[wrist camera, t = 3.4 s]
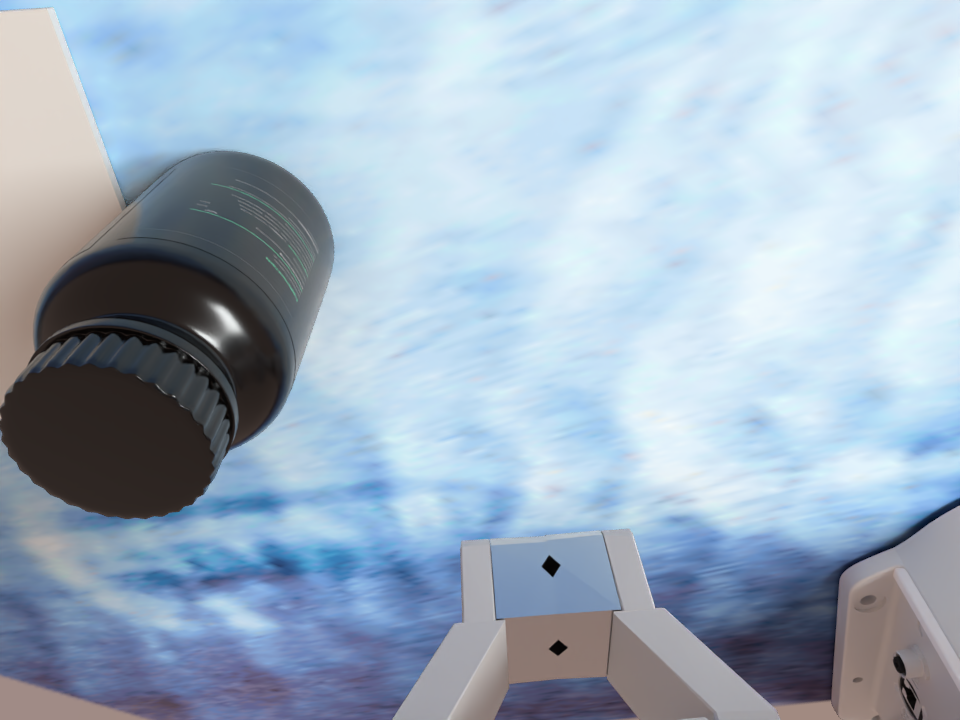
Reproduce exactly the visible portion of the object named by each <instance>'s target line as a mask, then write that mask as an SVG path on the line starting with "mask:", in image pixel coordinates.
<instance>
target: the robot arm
mask: <svg viewBox="0 0 960 720" xmlns="http://www.w3.org/2000/svg"><path fill="white" fill-rule="evenodd" d="M490 545H491V551H490ZM460 556H461V591H462V623H455V624H453V626H452V627H451V629H450V631H449V632H448V634H447V635H446V637H445V638H444V640H443V641H442V643H441V645H440V646H439V648H438V649H437V651H436V652H435V654H434V655H433V657H432V658H431V660H430V662H429V663H428V665H427V666H426V668H425V669H424V671H423V672H422V674H421V676H420V677H419V679H418V680H417V682H416V683H415V685H414V686H413V688H412V690H411V691H410V693H409V694H408V696H407V697H406V699H405V700H404V702H403V703H402V705H401V707H400V708H399V710H398V711H397V713H396V714H395V716H394V717H393V719H392V720H494V719H495V717H496V715H497V712H498V710H499V708H500V706H501V704H502V702H503V699H504V697H505V695H506V693H507V691H508V689H509V684H514V683H523V682H533V681H543V680H552V679H568V678H589V677H607V680H608V681H609V682H610V683H611V685H612V686H613V687H614V688H615V690H616V691H617V692H618V693H619V695H620V696H621V697H622V698H623V700H624V701H625V702H626V703H627V705H628V706H629V707H630V708H631V710H632V711H633V712H634V713H635V715H636V716H637V717H638V718H639V720H780V717H779V715H778V712H777V710H776V709H775V708H774V707H773V706H772V705H770V704H769V703H768V702H767V701H766V700H765V699H764V698H763V697H762V696H761V695H759V694H758V693H757V692H756V691H755V690H754V689H753V688H752V687H751V686H750V685H748V684H747V683H746V682H745V681H744V680H743V679H742V678H741V677H740V676H739V675H737V674H736V673H735V672H734V671H733V670H732V669H731V668H730V667H729V666H727V665H726V664H725V663H724V662H723V661H722V660H721V659H720V658H719V657H718V656H716V655H715V654H714V653H713V652H712V651H711V650H710V649H709V648H708V647H707V646H705V645H704V644H703V643H702V642H701V641H700V640H699V639H698V638H697V637H696V636H694V635H693V634H692V633H691V632H690V631H689V630H688V629H687V628H686V627H685V626H683V625H682V624H681V623H680V622H679V621H678V620H677V619H676V618H675V617H674V616H672V615H671V614H670V613H669V612H668V611H667V610H666V609H665V608H655V605H654V602H653V598H652V595H651V592H650V589H649V585H648V582H647V579H646V575H645V572H644V569H643V565H642V562H641V559H640V556H639V552H638V549H637V546H636V542H635V539H634V536H633V533H632V532H631V531H630V529H619V530H606V531H601V532H600V531H587V532H576V533H564V534H553V535H545V536H538V537H517V538H497V539H490V541H489V539H481V540H465V541H461V548H460ZM491 561H492V564H491ZM492 575H493V576H492ZM831 703H832V706H833V708H834V709H835V711H836V713H837V715H838V716H839V718H840V719H842V720H960V506H958V507H956V508H954V509H952V510H950V511H948V512H947V513H945V514H943V515H942V516H940V517H938V518H937V519H935V520H934V521H932V522H931V523H929V524H928V525H926V526H925V527H924V528H922V529H921V530H920V531H918V532H917V533H915V534H914V535H913V536H911V537H910V538H909V539H907V540H906V541H904V542H903V543H901V544H899V545H898V546H896V547H894V548H892V549H889V550H887V551H884V552H882V553H879V554H877V555H874V556H872V557H869V558H867V559H865V560H863V561H861V562H859V563H857V564H855V565H853V566H851V567H850V568H848V569H847V570H846V571H845V572H844V573H843V574H842V575H841V577H840V581H839V594H838V609H837V623H836V638H835V652H834V667H833V681H832V697H831Z"/></svg>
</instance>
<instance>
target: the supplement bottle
mask: <svg viewBox="0 0 960 720" xmlns="http://www.w3.org/2000/svg"><path fill="white" fill-rule="evenodd" d="M333 261H334V242H333V235H332V231H331V228H330V225H329V222H328V219H327V217H326V215H325V213H324V211H323V209H322V207H321V205H320V204H319V202H318V201H317V199H316V198H315V196H314V195H313V194H312V193H311V191H310V190H309V189H308V188H307V187H306V186H305V185H304V184H303V183H302V182H301V181H300V180H299V179H297V178H296V177H295V176H294V175H292V174H291V173H290V172H288V171H287V170H285V169H284V168H282V167H280V166H279V165H277V164H275V163H273V162H271V161H268V160H266V159H264V158H261V157H258V156H255V155H251V154H247V153H241V152H233V151H215V152H208V153H203V154H199V155H196V156H193V157H190V158H188V159H186V160H184V161H182V162H180V163H178V164H177V165H175V166H174V167H172V168H171V169H169V170H168V171H167V172H166V173H165V174H164V175H162V176H161V177H160V178H159V179H157V180H156V181H155V182H154V183H153V184H152V185H151V186H150V187H148V188H147V189H146V190H145V191H144V192H143V193H142V194H141V195H140V196H139V197H137V198H136V199H135V200H134V201H133V202H132V203H131V204H130V205H129V206H128V207H126V208H125V209H124V210H123V211H122V212H121V213H120V214H119V215H118V216H117V217H115V218H114V219H113V220H112V221H111V222H110V223H109V224H108V225H107V226H106V227H104V228H103V229H102V230H101V231H100V232H99V233H98V234H97V235H96V236H95V237H93V238H92V239H91V240H90V241H89V242H88V243H87V244H86V245H85V246H84V247H82V248H81V249H80V250H79V251H78V252H77V253H76V254H75V255H74V256H73V257H71V258H70V259H69V260H68V261H67V262H66V263H65V264H64V265H63V266H62V267H61V268H60V269H59V270H58V271H57V273H56V274H55V275H54V276H53V277H52V278H51V279H50V281H49V282H48V283H47V285H46V286H45V288H44V289H43V292H42V294H41V296H40V298H39V300H38V303H37V306H36V309H35V314H34V320H33V344H34V351H35V353H34V354H33V355H32V357H31V359H30V361H29V363H28V365H27V367H26V368H25V369H24V370H23V371H22V372H21V373H20V375H19V376H18V377H17V378H16V380H15V382H14V383H13V384H12V385H11V386H10V387H9V388H8V390H7V391H6V393H5V396H4V402H3V403H2V405H1V406H0V415H1V419H0V429H1V431H2V433H3V435H2V442H3V443H4V444H5V445H6V447H7V448H8V454H9V456H10V457H11V458H12V459H13V460H14V461H15V462H17V465H18V467H19V469H20V470H21V471H22V472H23V473H25V474H26V475H28V476H29V477H30V478H31V480H32V481H33V483H34V484H36V485H38V486H40V487H42V488H44V489H45V490H46V491H47V492H48V493H49V494H50V495H52V496H55V497H58V498H60V499H62V500H63V501H64V502H66V503H67V504H69V505H73V506H77V507H80V508H82V509H83V510H85V511H87V512H94V513H99V514H102V515H104V516H107V517H114V516H117V517H120V518H124V519H131V518H141V519H147V518H150V517H152V516H158V517H163V516H165V515H167V514H168V513H171V512H179V511H180V510H181V509H182V508H183V507H185V506H189V505H192V504H193V503H194V502H195V501H196V499H197V497H200V496H201V495H203V494H204V493H205V492H206V490H207V489H208V486H209V484H210V483H211V482H212V481H213V479H214V478H215V476H216V474H217V471H218V469H219V467H220V464H221V462H222V460H223V459H224V457H225V456H226V454H227V453H228V451H229V450H232V449H234V448H237V447H239V446H241V445H243V444H245V443H247V442H248V441H250V440H251V439H253V438H255V437H256V436H257V435H259V434H260V433H261V432H263V431H264V430H265V429H266V428H267V427H268V426H269V425H270V424H271V423H272V422H273V421H274V420H275V418H276V417H277V416H278V414H279V413H280V411H281V410H282V408H283V406H284V404H285V402H286V400H287V398H288V396H289V393H290V391H291V389H292V386H293V383H294V380H295V378H296V375H297V372H298V369H299V366H300V363H301V360H302V357H303V355H304V352H305V349H306V346H307V343H308V340H309V337H310V334H311V332H312V329H313V326H314V323H315V320H316V317H317V314H318V312H319V309H320V306H321V303H322V300H323V297H324V294H325V291H326V288H327V285H328V282H329V279H330V275H331V272H332V267H333Z"/></svg>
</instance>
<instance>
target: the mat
mask: <svg viewBox="0 0 960 720" xmlns="http://www.w3.org/2000/svg"><path fill="white" fill-rule="evenodd" d="M125 208H126V204H125V201H124V198H123V196H122V193H121V190H120V187H119V185H118V182H117V179H116V176H115V174H114V171H113V168H112V166H111V163H110V160H109V157H108V155H107V152H106V149H105V146H104V144H103V141H102V138H101V135H100V133H99V130H98V127H97V125H96V122H95V119H94V116H93V114H92V111H91V108H90V105H89V103H88V100H87V97H86V94H85V92H84V89H83V86H82V84H81V81H80V78H79V75H78V73H77V70H76V67H75V64H74V62H73V59H72V56H71V54H70V51H69V48H68V45H67V43H66V40H65V37H64V34H63V32H62V29H61V26H60V23H59V21H58V18H57V15H56V13H55V10H54V7H48V8H33V9H18V10H3V11H0V406H1V405H2V403H3V402H4V396H5V393H6V391H7V390H8V388H9V387H10V386H11V385H12V384H13V383H14V382H15V380H16V378H17V377H18V376H19V375H20V373H21V372H22V371H23V370H24V369H25V368H26V367H27V365H28V363H29V361H30V359H31V357H32V355H33V354H34V353H35V351H34V344H33V320H34V314H35V309H36V306H37V303H38V300H39V298H40V296H41V294H42V292H43V289H44V288H45V286H46V285H47V283H48V282H49V281H50V279H51V278H52V277H53V276H54V275H55V274H56V273H57V271H58V270H59V269H60V268H61V267H62V266H63V265H64V264H65V263H66V262H67V261H68V260H69V259H70V258H71V257H73V256H74V255H75V254H76V253H77V252H78V251H79V250H80V249H81V248H82V247H84V246H85V245H86V244H87V243H88V242H89V241H90V240H91V239H92V238H93V237H95V236H96V235H97V234H98V233H99V232H100V231H101V230H102V229H103V228H104V227H106V226H107V225H108V224H109V223H110V222H111V221H112V220H113V219H114V218H115V217H117V216H118V215H119V214H120V213H121V212H122V211H123V210H124V209H125ZM0 419H1V415H0Z"/></svg>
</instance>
